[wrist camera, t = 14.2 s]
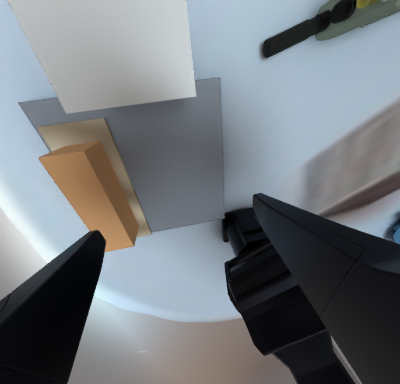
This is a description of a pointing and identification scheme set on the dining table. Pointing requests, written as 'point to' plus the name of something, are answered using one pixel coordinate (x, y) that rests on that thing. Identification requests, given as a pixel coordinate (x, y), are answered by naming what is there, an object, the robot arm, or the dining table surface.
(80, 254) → the robot arm
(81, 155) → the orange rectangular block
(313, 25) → the handheld radio
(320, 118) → the dining table surface
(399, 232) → the decorative pot
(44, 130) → the pad
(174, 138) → the board
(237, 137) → the dining table surface
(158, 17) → the block
